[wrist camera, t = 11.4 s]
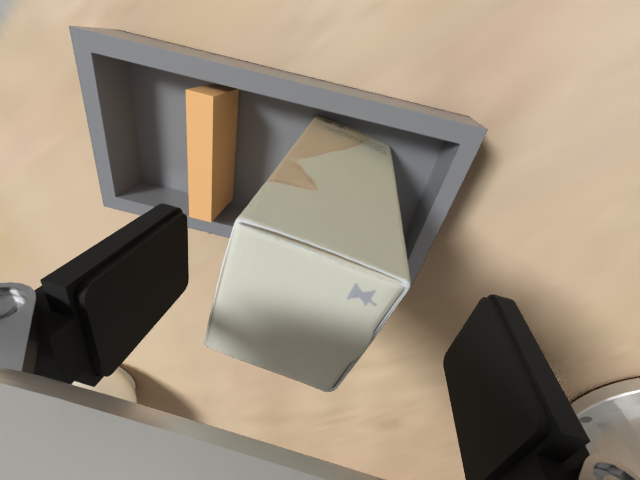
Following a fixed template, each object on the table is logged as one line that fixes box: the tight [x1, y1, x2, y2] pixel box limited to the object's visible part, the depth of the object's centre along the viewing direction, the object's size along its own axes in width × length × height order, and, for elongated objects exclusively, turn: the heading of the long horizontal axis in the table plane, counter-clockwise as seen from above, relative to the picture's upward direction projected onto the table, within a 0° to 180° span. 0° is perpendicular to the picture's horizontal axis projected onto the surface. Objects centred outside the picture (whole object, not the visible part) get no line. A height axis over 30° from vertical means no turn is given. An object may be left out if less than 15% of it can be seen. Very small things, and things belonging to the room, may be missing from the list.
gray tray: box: [69, 26, 488, 285], centre depth 17 cm, size 18×9×3 cm, turn 78°
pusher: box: [186, 83, 239, 222], centre depth 16 cm, size 1×6×3 cm, turn 169°
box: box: [204, 115, 411, 392], centre depth 13 cm, size 5×4×11 cm
